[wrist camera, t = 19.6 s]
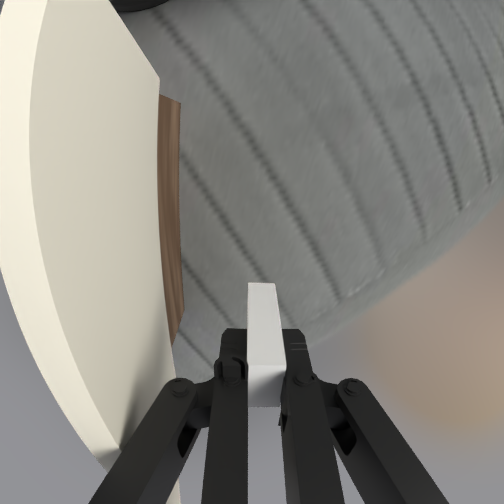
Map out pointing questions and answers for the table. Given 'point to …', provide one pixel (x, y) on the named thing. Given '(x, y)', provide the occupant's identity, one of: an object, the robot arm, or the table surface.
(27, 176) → the lid
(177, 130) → the bin
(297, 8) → the table surface
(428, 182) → the table surface
